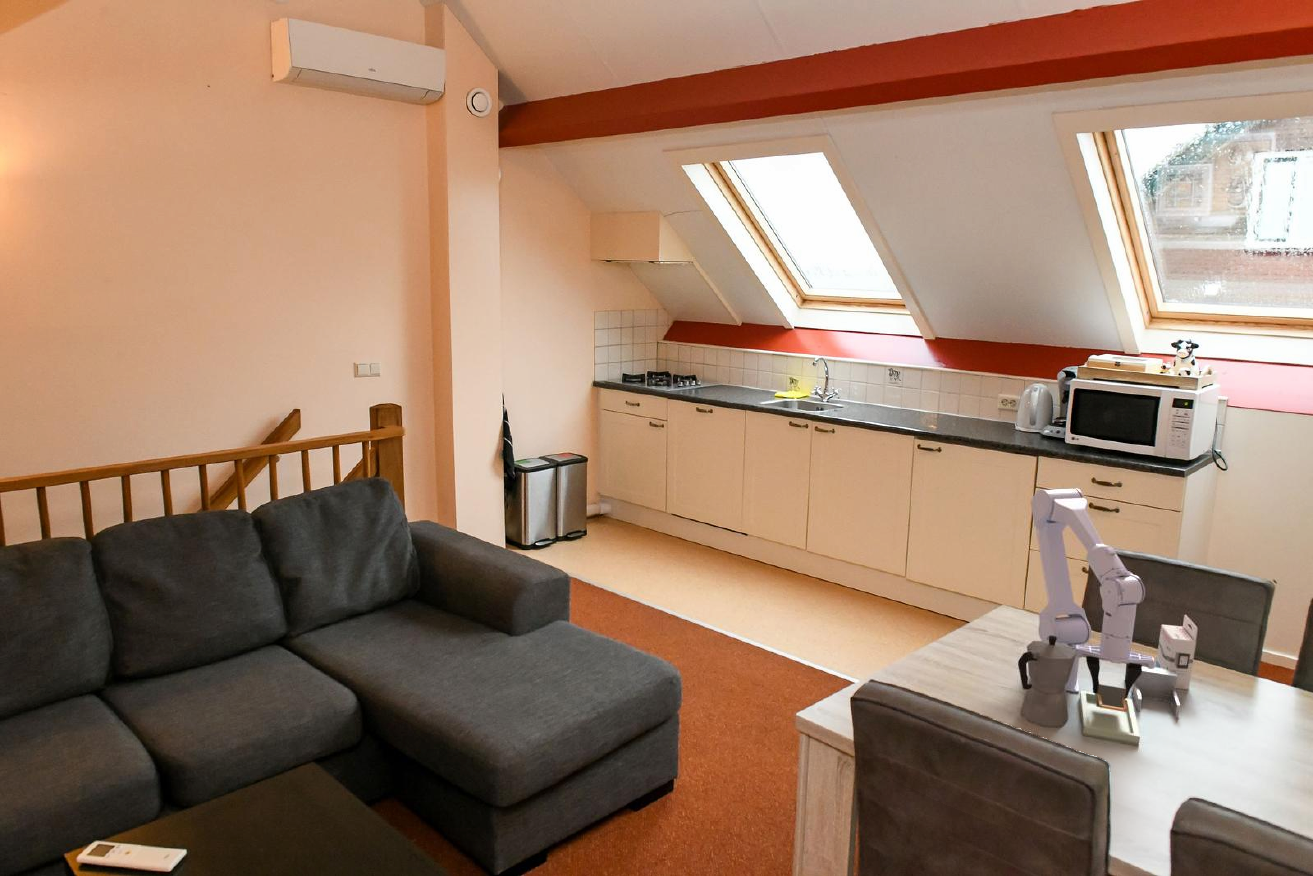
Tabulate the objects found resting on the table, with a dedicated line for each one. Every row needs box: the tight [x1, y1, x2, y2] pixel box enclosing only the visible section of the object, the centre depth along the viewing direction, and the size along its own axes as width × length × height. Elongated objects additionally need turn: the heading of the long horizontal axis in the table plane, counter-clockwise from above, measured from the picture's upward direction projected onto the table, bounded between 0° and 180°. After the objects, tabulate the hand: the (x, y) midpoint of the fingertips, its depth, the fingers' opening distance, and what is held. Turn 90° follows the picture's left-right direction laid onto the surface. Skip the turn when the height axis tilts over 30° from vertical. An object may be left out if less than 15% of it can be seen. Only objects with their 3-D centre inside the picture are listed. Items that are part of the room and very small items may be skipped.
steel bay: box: [1130, 666, 1181, 720], centre depth 200 cm, size 8×11×6 cm
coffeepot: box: [1017, 636, 1076, 728], centre depth 192 cm, size 15×9×18 cm, turn 116°
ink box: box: [1155, 614, 1199, 690], centre depth 211 cm, size 9×5×15 cm, turn 168°
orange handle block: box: [1095, 670, 1127, 712], centre depth 192 cm, size 5×12×5 cm, turn 158°
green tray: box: [1078, 689, 1141, 747], centre depth 193 cm, size 10×17×2 cm, turn 158°
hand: (1109, 693), depth 194 cm, fingers closed on orange handle block, 5 cm apart
